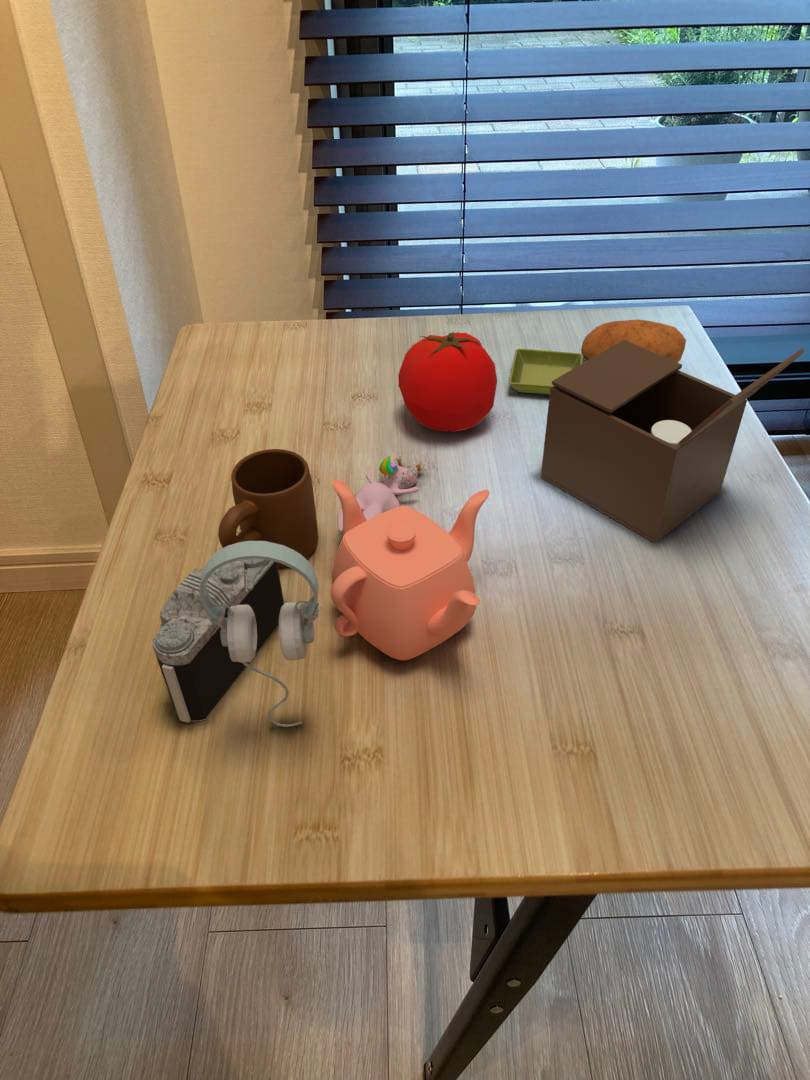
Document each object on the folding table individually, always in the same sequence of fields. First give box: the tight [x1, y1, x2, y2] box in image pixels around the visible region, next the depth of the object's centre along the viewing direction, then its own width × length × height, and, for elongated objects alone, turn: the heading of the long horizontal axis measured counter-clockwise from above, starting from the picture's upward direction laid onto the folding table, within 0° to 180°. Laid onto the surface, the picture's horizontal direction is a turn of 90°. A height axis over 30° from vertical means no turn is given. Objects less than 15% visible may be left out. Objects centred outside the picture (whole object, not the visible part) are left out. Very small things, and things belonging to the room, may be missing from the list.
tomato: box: [397, 331, 498, 433], centre depth 98 cm, size 12×12×11 cm
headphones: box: [199, 541, 322, 728], centre depth 63 cm, size 8×4×20 cm, turn 92°
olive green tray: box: [508, 348, 584, 396], centre depth 107 cm, size 9×9×2 cm
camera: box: [151, 559, 285, 723], centre depth 72 cm, size 15×7×10 cm, turn 155°
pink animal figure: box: [336, 454, 424, 532], centre depth 88 cm, size 6×6×15 cm
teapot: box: [330, 478, 490, 661], centre depth 74 cm, size 14×14×11 cm
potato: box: [580, 319, 687, 363], centre depth 107 cm, size 7×13×7 cm, turn 61°
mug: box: [217, 448, 319, 568], centre depth 81 cm, size 12×8×9 cm, turn 153°
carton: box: [540, 340, 748, 544], centre depth 88 cm, size 15×12×12 cm
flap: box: [678, 347, 806, 446], centre depth 76 cm, size 7×12×1 cm
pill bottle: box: [650, 420, 692, 446], centre depth 87 cm, size 5×5×8 cm
